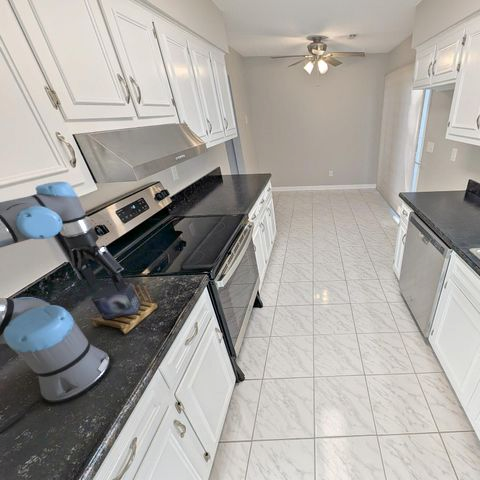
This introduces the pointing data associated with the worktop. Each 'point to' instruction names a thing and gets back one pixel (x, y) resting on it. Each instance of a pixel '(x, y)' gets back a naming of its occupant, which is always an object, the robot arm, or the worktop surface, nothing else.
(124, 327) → the dish rack
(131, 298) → the small box
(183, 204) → the worktop surface
